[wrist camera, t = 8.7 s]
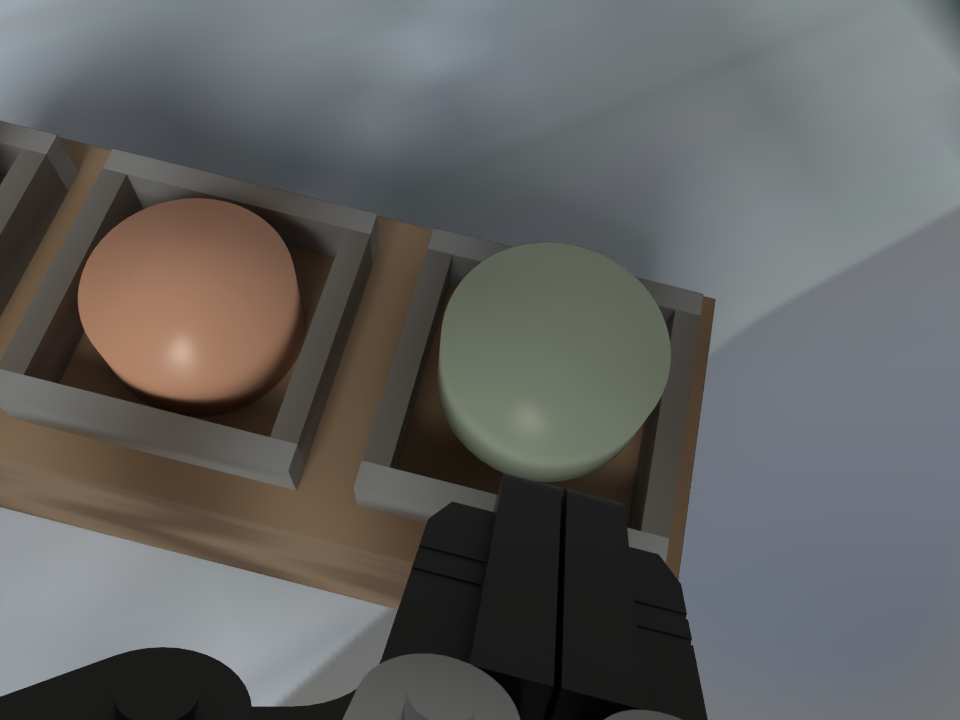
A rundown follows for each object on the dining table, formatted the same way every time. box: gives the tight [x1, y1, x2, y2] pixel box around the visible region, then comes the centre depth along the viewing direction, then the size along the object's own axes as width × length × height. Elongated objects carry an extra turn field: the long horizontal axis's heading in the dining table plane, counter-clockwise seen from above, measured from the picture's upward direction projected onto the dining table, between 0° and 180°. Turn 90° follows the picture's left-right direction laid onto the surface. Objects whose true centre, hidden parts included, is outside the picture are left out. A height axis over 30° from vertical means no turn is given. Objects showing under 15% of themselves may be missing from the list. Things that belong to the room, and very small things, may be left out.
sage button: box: [437, 242, 671, 482], centre depth 18 cm, size 5×5×2 cm
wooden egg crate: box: [0, 121, 715, 609], centre depth 23 cm, size 24×8×9 cm, turn 77°
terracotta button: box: [78, 198, 305, 417], centre depth 19 cm, size 5×5×2 cm
